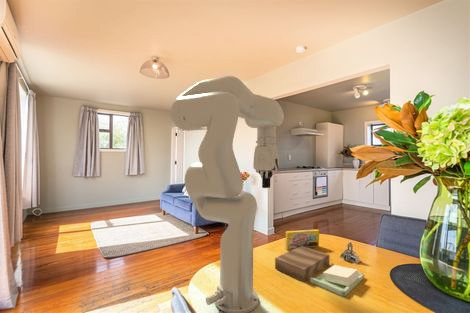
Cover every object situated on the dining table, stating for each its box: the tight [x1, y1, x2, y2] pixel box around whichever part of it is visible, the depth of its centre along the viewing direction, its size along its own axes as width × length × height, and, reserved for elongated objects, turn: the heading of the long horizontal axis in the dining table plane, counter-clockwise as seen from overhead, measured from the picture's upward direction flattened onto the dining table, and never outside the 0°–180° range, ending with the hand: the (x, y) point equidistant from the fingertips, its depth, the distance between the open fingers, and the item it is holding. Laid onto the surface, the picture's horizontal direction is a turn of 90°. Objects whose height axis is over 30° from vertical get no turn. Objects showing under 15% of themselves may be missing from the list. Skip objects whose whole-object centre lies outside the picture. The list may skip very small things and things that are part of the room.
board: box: [274, 246, 331, 283], centre depth 86 cm, size 18×12×4 cm, turn 132°
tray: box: [309, 263, 365, 298], centre depth 76 cm, size 16×11×2 cm
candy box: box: [284, 228, 320, 251], centre depth 104 cm, size 16×2×8 cm, turn 104°
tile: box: [322, 264, 359, 286], centre depth 75 cm, size 8×8×2 cm
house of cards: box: [339, 241, 362, 265], centre depth 91 cm, size 9×9×8 cm
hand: (266, 187), depth 92 cm, fingers closed
